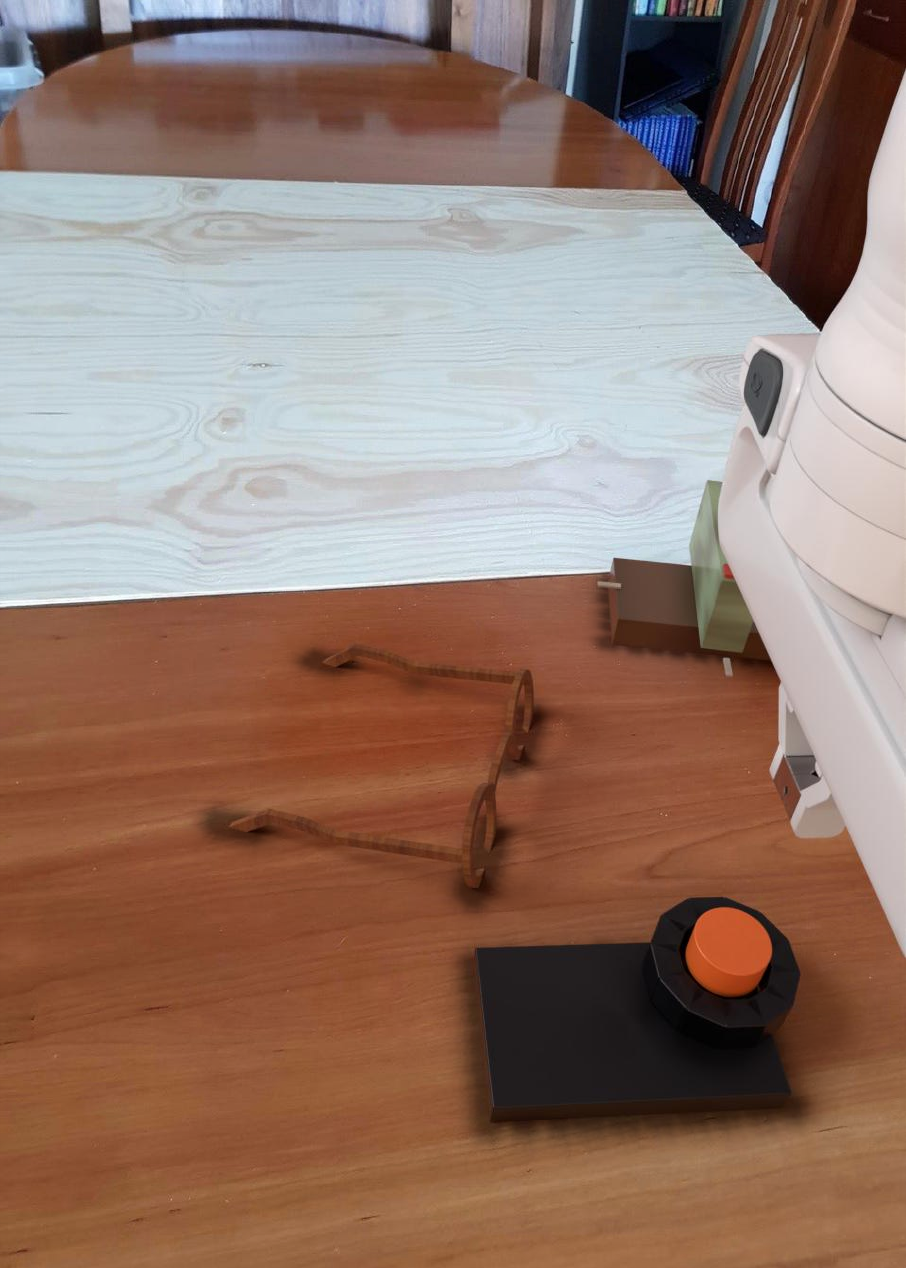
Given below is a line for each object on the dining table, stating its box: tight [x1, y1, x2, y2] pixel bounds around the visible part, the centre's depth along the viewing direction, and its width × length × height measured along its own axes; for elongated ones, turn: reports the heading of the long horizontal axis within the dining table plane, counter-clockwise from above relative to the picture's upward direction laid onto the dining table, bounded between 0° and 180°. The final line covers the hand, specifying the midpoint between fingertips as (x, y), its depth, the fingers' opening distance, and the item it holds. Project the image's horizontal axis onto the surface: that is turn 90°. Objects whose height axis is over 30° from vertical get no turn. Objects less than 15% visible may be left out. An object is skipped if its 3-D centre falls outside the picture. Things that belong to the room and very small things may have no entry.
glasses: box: [228, 643, 535, 889], centre depth 54 cm, size 13×13×5 cm
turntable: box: [597, 557, 771, 678], centre depth 65 cm, size 14×14×3 cm
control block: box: [472, 896, 802, 1123], centre depth 45 cm, size 13×8×4 cm, turn 95°
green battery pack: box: [688, 479, 753, 653], centre depth 63 cm, size 10×2×5 cm, turn 174°
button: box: [685, 907, 772, 997], centre depth 44 cm, size 3×3×2 cm
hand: (802, 806), depth 38 cm, fingers closed
